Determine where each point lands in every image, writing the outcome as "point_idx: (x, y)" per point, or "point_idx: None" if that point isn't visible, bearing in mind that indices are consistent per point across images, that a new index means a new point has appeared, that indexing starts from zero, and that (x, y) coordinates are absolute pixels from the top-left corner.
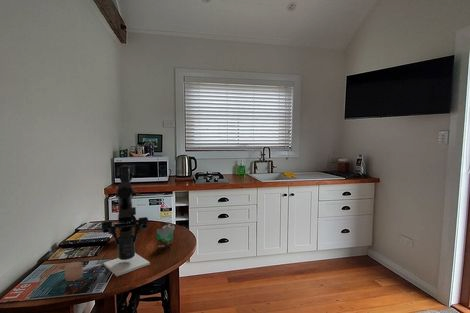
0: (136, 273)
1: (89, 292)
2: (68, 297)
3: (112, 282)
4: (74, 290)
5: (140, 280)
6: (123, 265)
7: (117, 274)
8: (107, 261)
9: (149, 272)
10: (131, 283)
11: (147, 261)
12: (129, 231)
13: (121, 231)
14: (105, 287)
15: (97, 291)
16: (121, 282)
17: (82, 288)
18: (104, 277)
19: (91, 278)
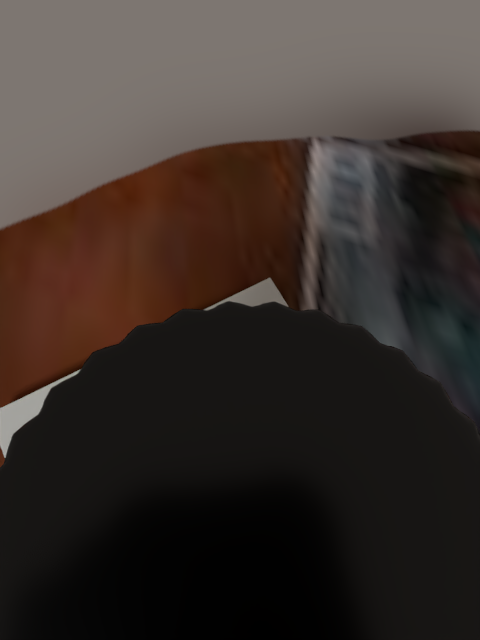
0: (127, 287)
1: (385, 155)
2: (474, 145)
3: (281, 217)
4: (476, 199)
5: (104, 185)
6: None
7: (264, 282)
8: None
9: (28, 272)
10: (161, 170)
11: (7, 440)
12: (81, 380)
13: (404, 365)
14: (311, 176)
15: (344, 151)
16: (224, 200)
17: (441, 206)
18: (351, 299)
19: (436, 312)
